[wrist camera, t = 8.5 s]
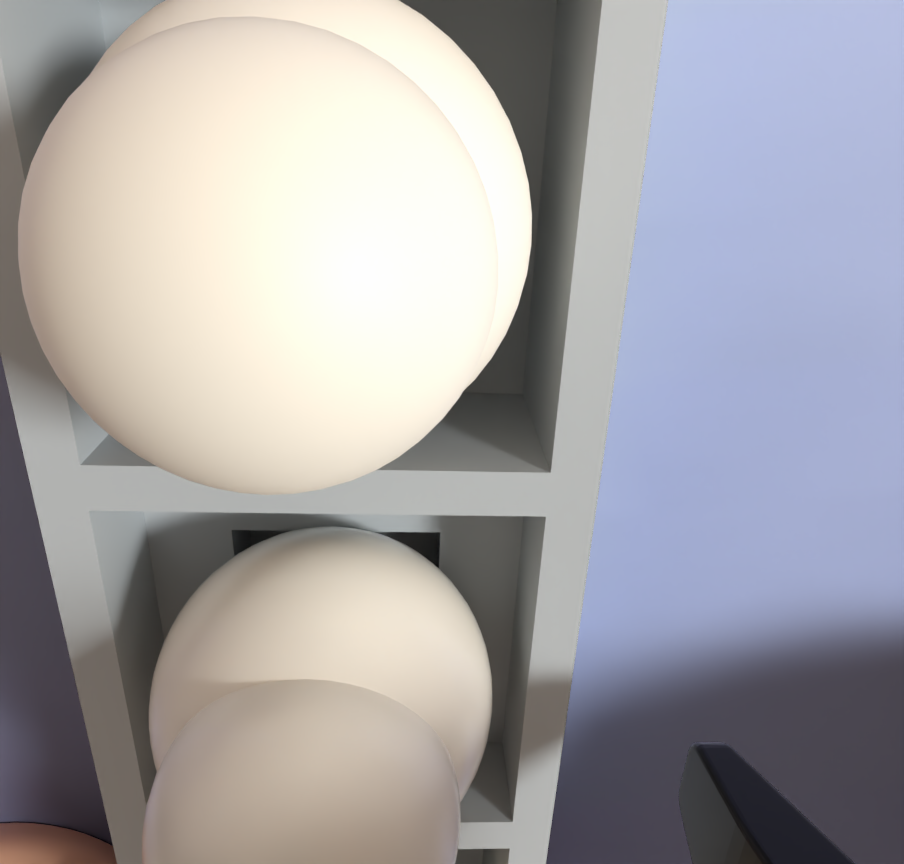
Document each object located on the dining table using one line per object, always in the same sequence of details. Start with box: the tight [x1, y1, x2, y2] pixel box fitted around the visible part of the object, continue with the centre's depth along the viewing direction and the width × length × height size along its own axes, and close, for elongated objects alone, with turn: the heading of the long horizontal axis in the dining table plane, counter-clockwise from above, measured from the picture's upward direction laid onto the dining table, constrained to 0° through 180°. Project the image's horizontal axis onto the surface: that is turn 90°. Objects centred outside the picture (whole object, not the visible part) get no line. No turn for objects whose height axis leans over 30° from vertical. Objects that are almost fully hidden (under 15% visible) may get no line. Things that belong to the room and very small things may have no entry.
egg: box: [142, 526, 492, 864], centre depth 9 cm, size 4×4×6 cm
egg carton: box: [0, 0, 668, 864], centre depth 11 cm, size 7×25×8 cm, turn 178°
